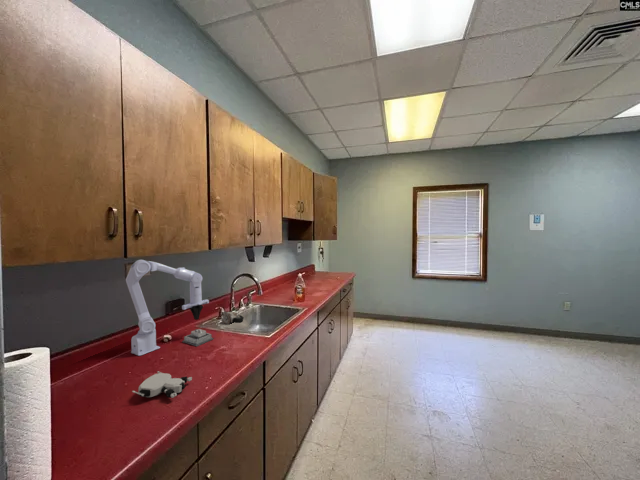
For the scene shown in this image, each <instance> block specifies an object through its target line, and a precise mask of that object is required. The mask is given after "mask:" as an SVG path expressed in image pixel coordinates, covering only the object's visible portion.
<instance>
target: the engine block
mask: <svg viewBox="0 0 640 480" xmlns="http://www.w3.org/2000/svg"><path fill="white" fill-rule="evenodd" d="M206 333H207V330H206V329H205V330H204V329H201V328H198V329H197V328H196V329H194V330H191V331H190V334H191V338H193V339H199V338H202V337H204V336H206Z"/></svg>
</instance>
